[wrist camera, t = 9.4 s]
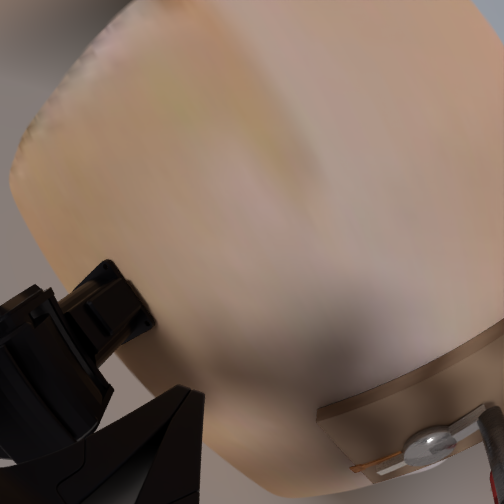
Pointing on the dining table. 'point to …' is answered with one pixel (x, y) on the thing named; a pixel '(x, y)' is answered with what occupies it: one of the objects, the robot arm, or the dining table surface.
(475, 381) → the stand
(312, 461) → the dining table surface
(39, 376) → the robot arm
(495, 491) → the canned food
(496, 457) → the crank handle
